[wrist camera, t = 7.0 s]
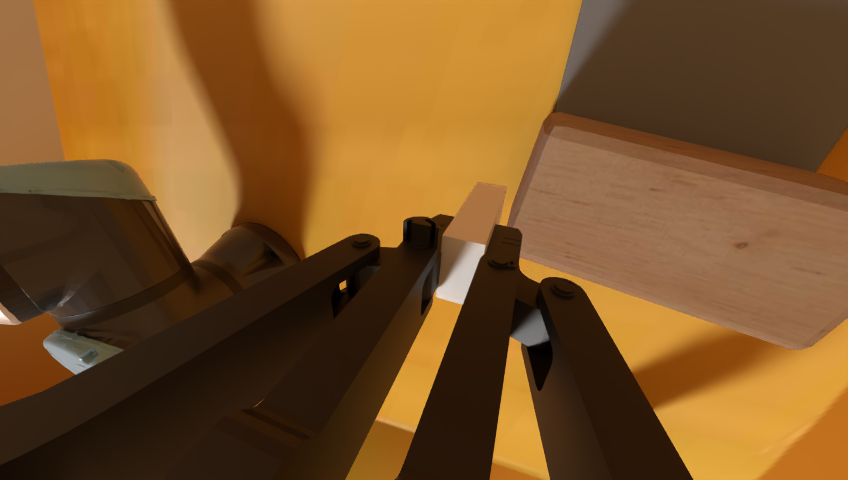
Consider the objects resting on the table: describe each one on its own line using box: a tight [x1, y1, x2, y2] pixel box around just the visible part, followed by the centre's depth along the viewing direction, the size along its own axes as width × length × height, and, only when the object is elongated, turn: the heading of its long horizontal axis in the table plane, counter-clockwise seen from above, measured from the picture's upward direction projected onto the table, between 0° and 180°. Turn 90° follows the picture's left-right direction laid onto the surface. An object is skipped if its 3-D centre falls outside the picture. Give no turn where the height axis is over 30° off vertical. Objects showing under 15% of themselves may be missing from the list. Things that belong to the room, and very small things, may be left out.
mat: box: [554, 0, 848, 172], centre depth 25 cm, size 19×22×1 cm
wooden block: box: [507, 112, 848, 350], centre depth 22 cm, size 10×10×20 cm
